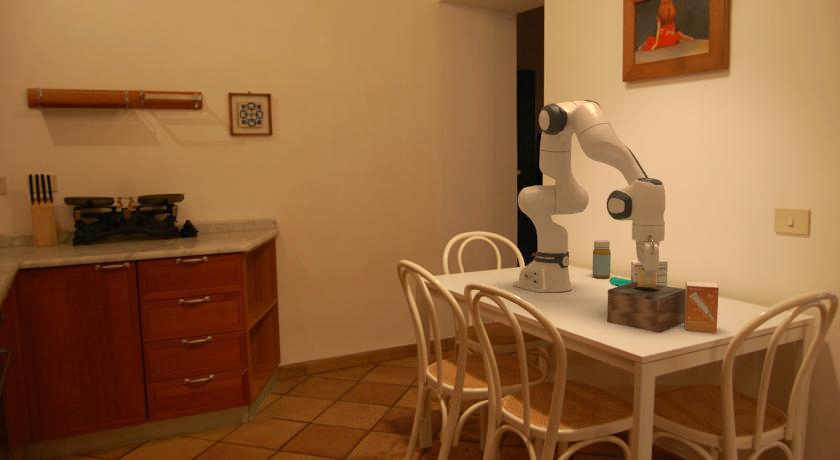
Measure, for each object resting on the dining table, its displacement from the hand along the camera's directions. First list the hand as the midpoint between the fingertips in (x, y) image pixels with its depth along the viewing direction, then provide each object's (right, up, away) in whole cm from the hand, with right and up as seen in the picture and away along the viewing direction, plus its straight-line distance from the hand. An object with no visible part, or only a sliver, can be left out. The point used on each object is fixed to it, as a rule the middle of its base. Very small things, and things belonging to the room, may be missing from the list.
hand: (646, 280), depth 171 cm
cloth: (+13, -7, +55) cm, 57 cm away
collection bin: (0, -13, +1) cm, 13 cm away
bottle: (+9, -5, +71) cm, 71 cm away
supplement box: (+17, -8, +38) cm, 42 cm away
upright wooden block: (0, -2, 0) cm, 2 cm away
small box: (+13, -13, -6) cm, 19 cm away
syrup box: (+7, -10, +24) cm, 27 cm away
